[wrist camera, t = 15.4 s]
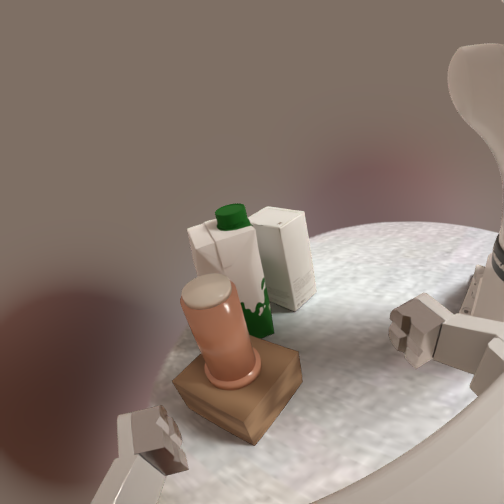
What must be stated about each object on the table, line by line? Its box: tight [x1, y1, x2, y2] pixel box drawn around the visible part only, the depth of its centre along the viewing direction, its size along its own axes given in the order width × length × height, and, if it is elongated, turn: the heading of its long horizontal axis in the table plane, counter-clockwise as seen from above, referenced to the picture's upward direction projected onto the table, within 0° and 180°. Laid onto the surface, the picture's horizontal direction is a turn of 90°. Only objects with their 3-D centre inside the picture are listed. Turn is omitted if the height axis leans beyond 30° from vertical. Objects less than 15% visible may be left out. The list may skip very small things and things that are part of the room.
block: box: [172, 335, 303, 446], centre depth 36 cm, size 11×11×6 cm
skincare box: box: [248, 206, 317, 311], centre depth 52 cm, size 8×7×16 cm
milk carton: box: [187, 204, 274, 339], centre depth 45 cm, size 9×9×20 cm
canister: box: [180, 273, 262, 390], centre depth 32 cm, size 7×7×12 cm
